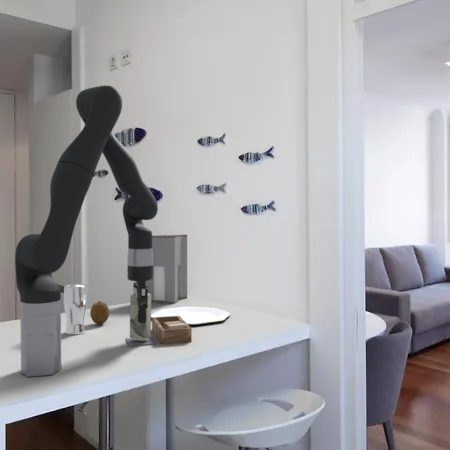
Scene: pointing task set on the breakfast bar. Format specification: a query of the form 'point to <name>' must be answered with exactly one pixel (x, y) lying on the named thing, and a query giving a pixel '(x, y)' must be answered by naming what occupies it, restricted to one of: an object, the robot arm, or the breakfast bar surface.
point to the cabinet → (168, 269)
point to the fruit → (99, 313)
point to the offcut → (174, 325)
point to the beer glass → (75, 308)
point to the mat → (140, 341)
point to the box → (137, 328)
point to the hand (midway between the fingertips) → (140, 320)
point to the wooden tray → (171, 330)
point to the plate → (194, 314)
